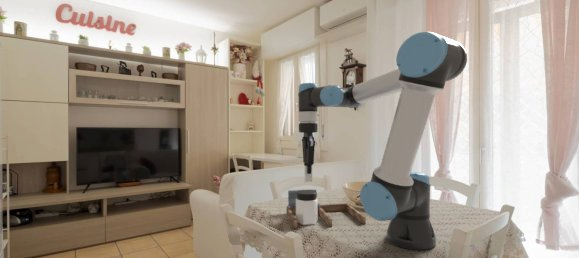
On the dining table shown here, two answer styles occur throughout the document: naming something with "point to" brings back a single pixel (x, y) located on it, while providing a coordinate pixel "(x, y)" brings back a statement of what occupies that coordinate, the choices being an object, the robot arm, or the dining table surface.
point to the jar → (306, 207)
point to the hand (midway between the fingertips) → (308, 181)
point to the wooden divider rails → (321, 210)
